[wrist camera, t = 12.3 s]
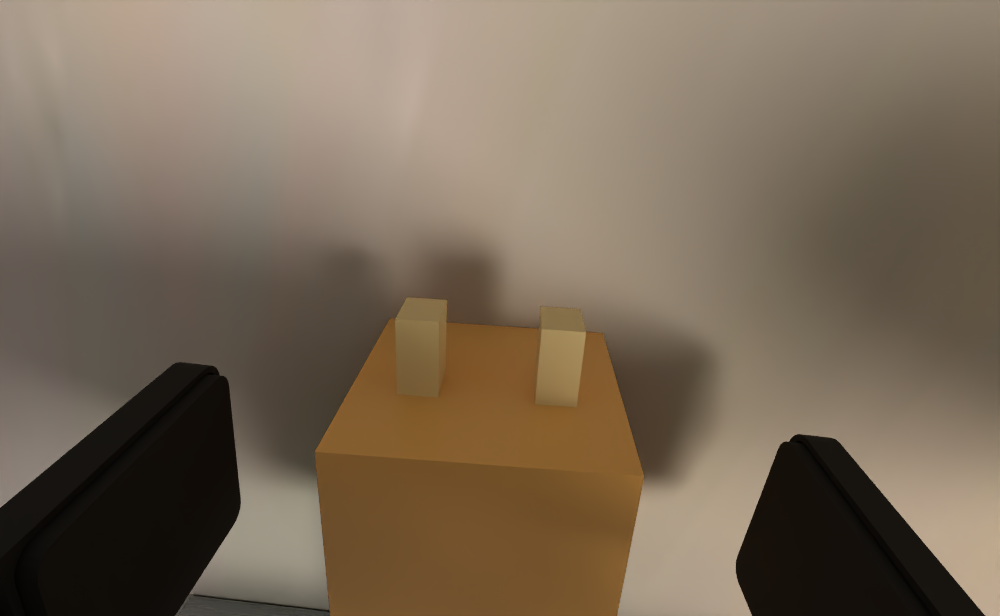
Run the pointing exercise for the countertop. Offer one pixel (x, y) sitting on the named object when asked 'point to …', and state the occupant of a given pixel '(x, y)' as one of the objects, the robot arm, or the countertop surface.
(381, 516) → the plug
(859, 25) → the countertop surface
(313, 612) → the housing
